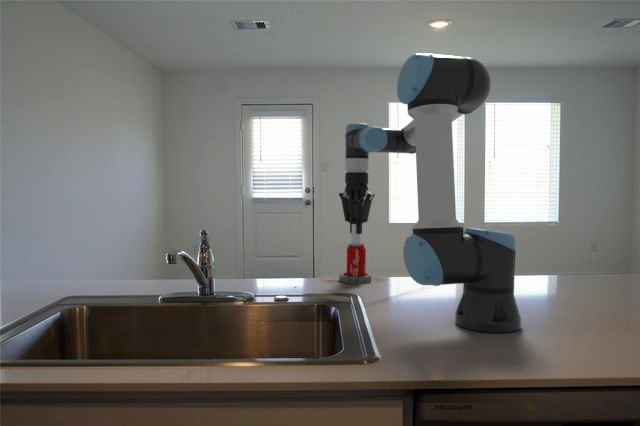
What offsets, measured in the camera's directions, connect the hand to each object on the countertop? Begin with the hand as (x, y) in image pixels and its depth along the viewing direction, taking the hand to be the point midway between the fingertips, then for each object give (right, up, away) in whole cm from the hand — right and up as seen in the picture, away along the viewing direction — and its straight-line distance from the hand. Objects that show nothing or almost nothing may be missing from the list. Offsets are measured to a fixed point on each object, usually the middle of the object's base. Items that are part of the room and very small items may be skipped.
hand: (355, 243), depth 172 cm
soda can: (0, -12, +1) cm, 13 cm away
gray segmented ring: (0, -12, +1) cm, 12 cm away
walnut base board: (0, -14, +1) cm, 14 cm away
